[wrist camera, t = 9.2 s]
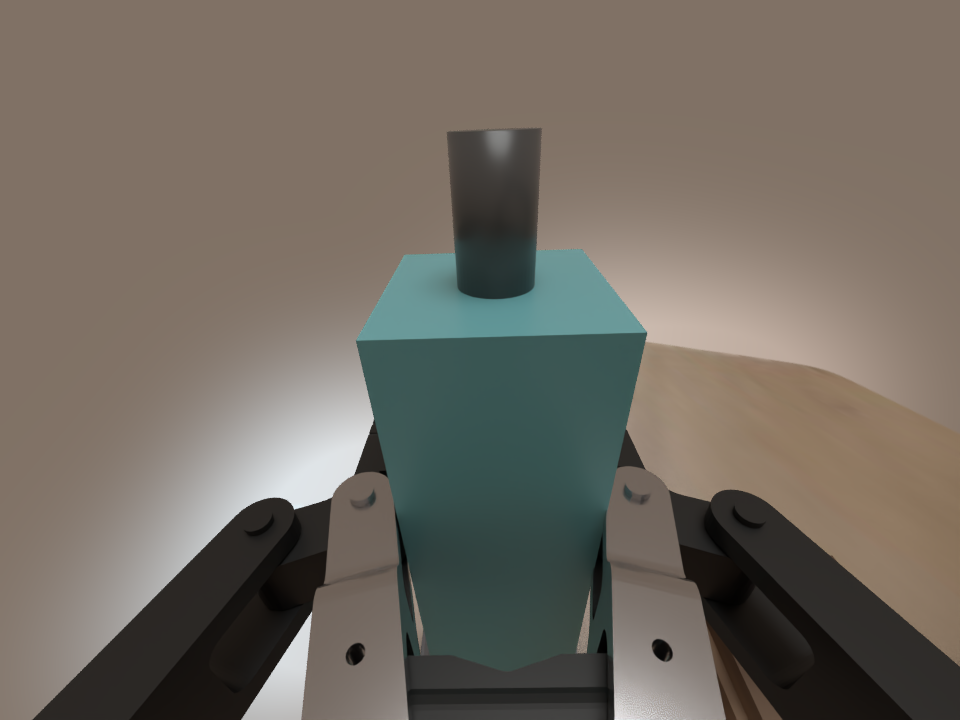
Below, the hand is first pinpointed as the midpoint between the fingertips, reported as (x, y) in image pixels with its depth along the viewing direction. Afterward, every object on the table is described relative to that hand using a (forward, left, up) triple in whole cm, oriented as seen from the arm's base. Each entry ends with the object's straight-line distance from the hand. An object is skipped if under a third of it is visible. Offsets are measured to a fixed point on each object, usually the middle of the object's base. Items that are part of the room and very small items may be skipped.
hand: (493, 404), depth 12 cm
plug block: (+2, +2, -7) cm, 8 cm away
